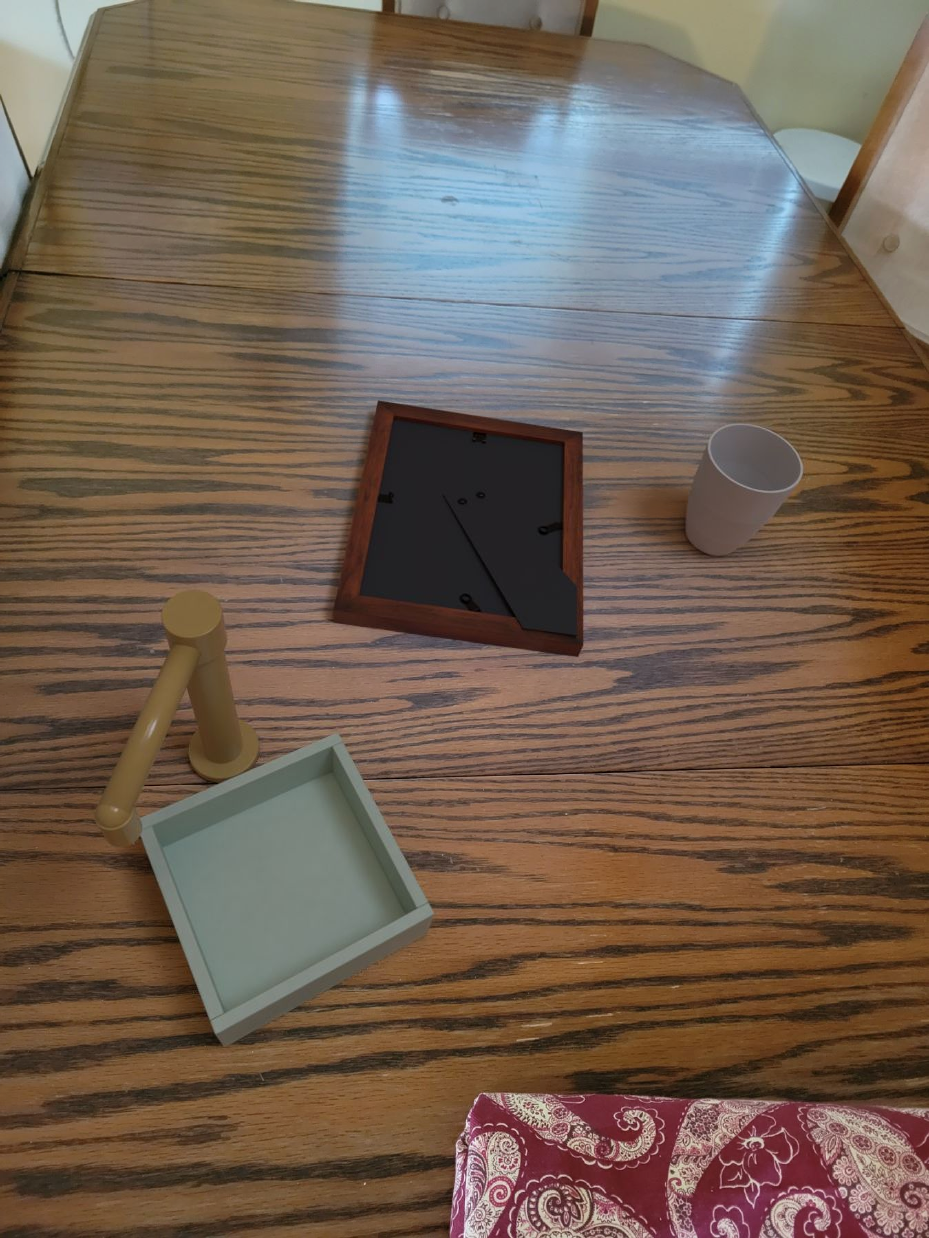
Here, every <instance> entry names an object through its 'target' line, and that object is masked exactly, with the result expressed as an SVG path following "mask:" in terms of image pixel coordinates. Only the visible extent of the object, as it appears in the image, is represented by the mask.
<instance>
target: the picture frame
mask: <svg viewBox="0 0 929 1238" xmlns="http://www.w3.org/2000/svg"><path fill="white" fill-rule="evenodd" d="M583 437H584V433H583V431H579V430H571V429H565V428H559V427H552V426H546V425H540V424H532V423H526V422H521V421H514V420H509V419H501V418H494V417H488V416H483V415H482V416H481V415H475V414H469V413H463V412H457V411H450V410H445V409H444V410H443V409H437V408H431V407H425V406H417V405H410V404H405V403H398V402H393V401H385V400H377V402H376V408H375V411H374V416H373V422H372V427H371V431H370V435H369V439H368V440H369V441H368V445H367V449H366V453H365V458H364V464H363V468H362V473H361V477H360V482H359V486H358V490H357V491H358V492H357V496H356V501H355V505H354V509H353V514H352V519H351V524H350V528H349V534H348V538H347V543H346V547H345V552H344V556H343V562H342V567H341V571H340V576H339V580H338V585H337V589H336V594H335V598H334V599H335V600H334V604H333V608H332V623H333V624H334V623H335V624H342V625H349V626H357V627H363V628H370V629H377V630H383V631H384V630H385V631H391V632H399V633H405V634H412V635H420V636H429V637H433V638H434V637H435V638H442V639H450V640H454V641H455V640H458V641H464V642H469V643H478V644H485V645H493V646H498V647H499V646H500V647H506V648H512V649H513V648H514V649H519V650H528V651H534V652H543V653H549V654H557V655H562V656H563V655H564V656H569V657H570V656H571V657H579V656H580V654H581V651H582V649H583V647H584V438H583Z"/></svg>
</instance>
